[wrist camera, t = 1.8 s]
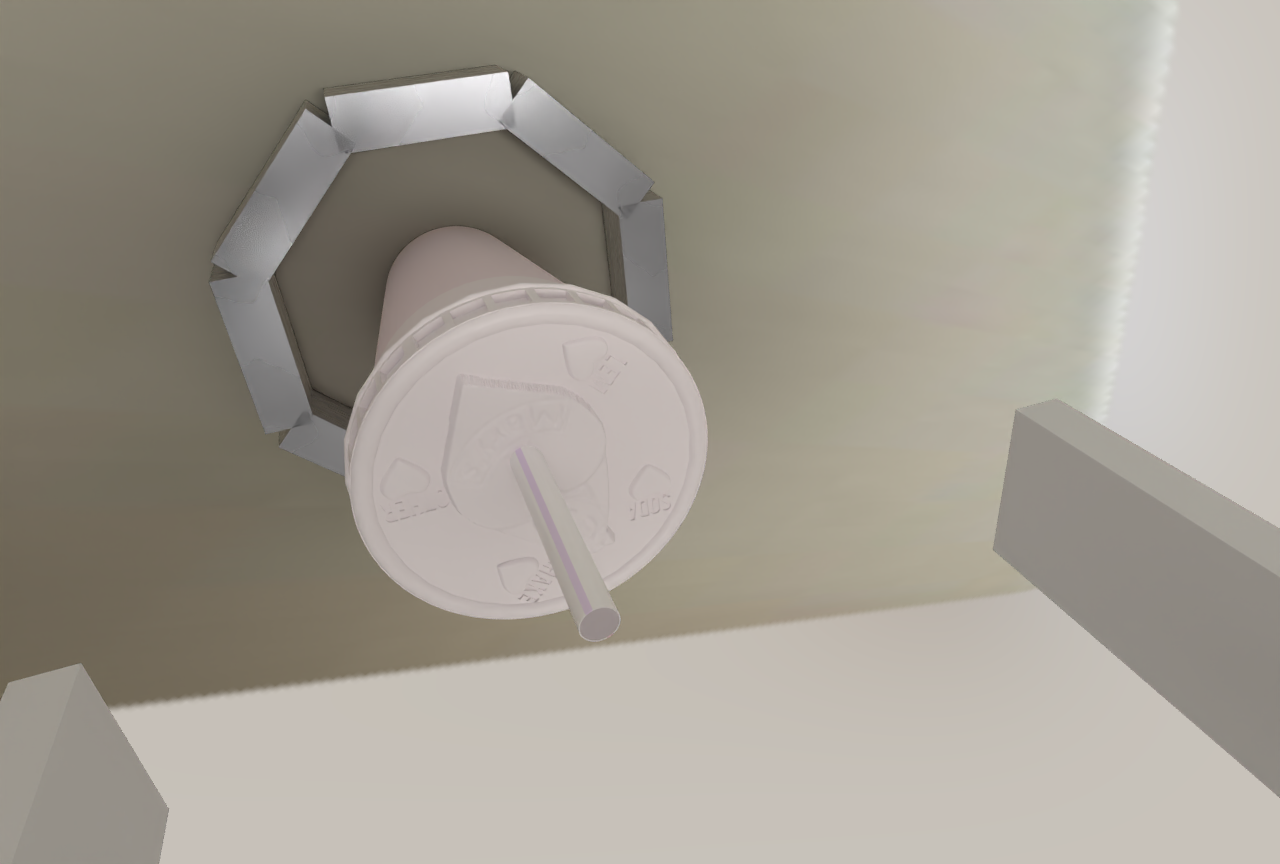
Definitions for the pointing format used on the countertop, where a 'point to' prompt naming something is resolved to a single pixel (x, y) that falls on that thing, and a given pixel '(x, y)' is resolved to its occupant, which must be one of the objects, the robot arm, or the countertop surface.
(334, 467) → the collar
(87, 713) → the robot arm
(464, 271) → the smoothie
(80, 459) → the countertop surface
